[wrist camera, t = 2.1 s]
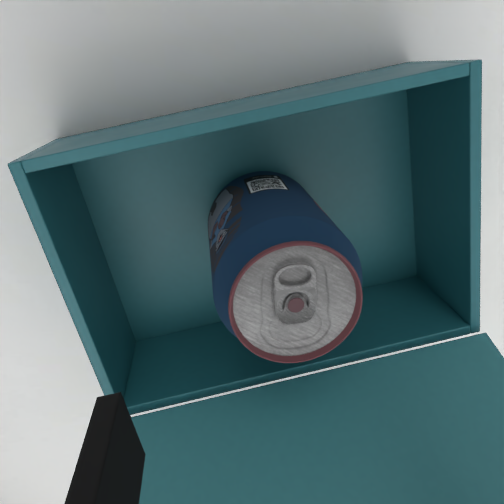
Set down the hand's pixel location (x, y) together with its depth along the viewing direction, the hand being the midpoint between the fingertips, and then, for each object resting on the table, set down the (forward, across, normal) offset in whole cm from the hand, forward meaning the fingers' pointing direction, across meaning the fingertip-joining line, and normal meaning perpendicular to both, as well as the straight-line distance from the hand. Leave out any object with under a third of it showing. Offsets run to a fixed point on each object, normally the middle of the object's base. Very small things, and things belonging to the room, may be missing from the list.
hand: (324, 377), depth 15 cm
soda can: (+17, 0, 0) cm, 17 cm away
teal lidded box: (+17, 0, 0) cm, 17 cm away
